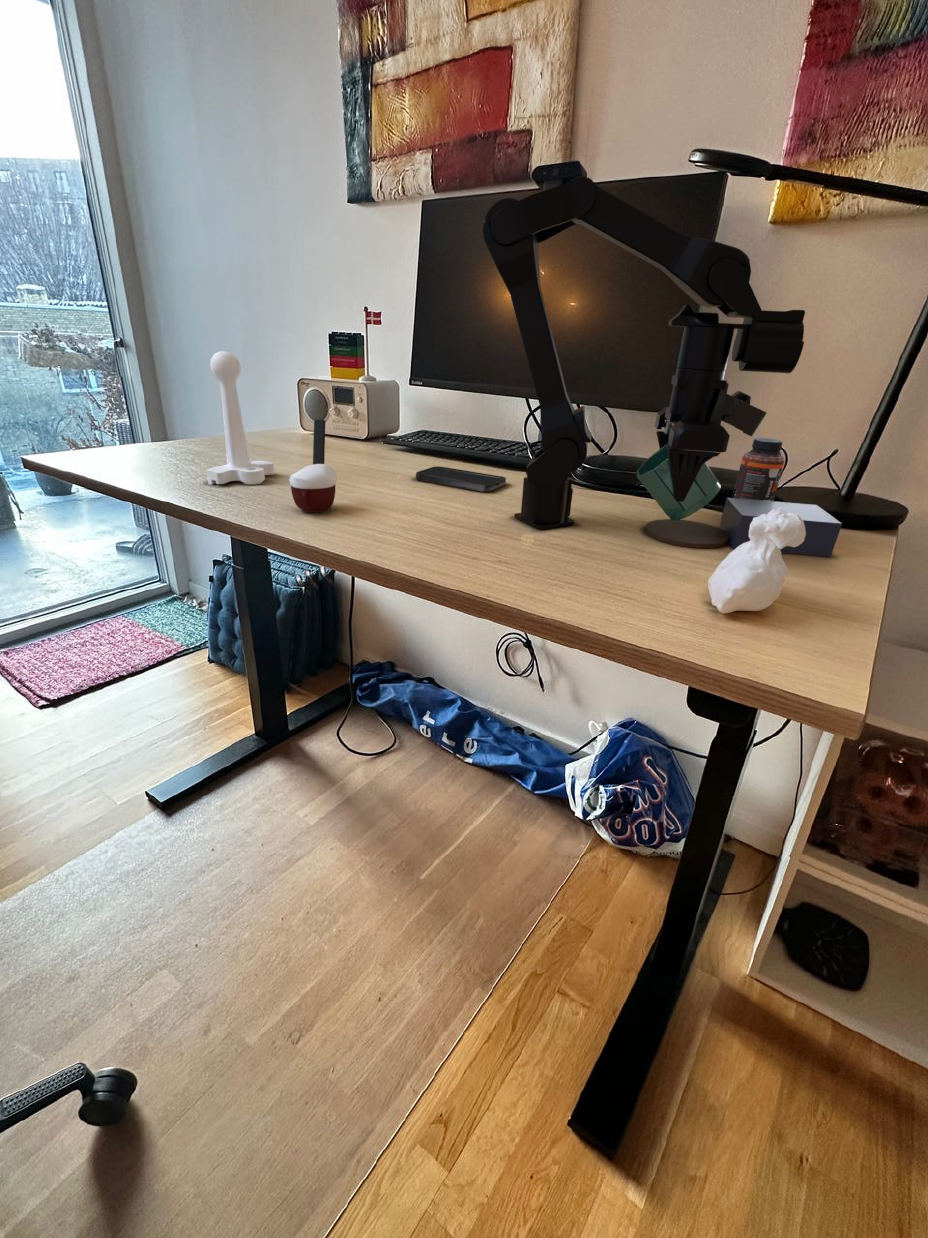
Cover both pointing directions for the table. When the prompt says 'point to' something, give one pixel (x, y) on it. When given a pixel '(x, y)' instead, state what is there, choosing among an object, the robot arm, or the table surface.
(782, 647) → the table surface
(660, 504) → the cup
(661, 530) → the coaster
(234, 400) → the joystick
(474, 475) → the phone
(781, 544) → the white tied sack
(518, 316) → the robot arm
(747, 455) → the supplement bottle
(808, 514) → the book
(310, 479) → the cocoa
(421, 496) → the table surface
